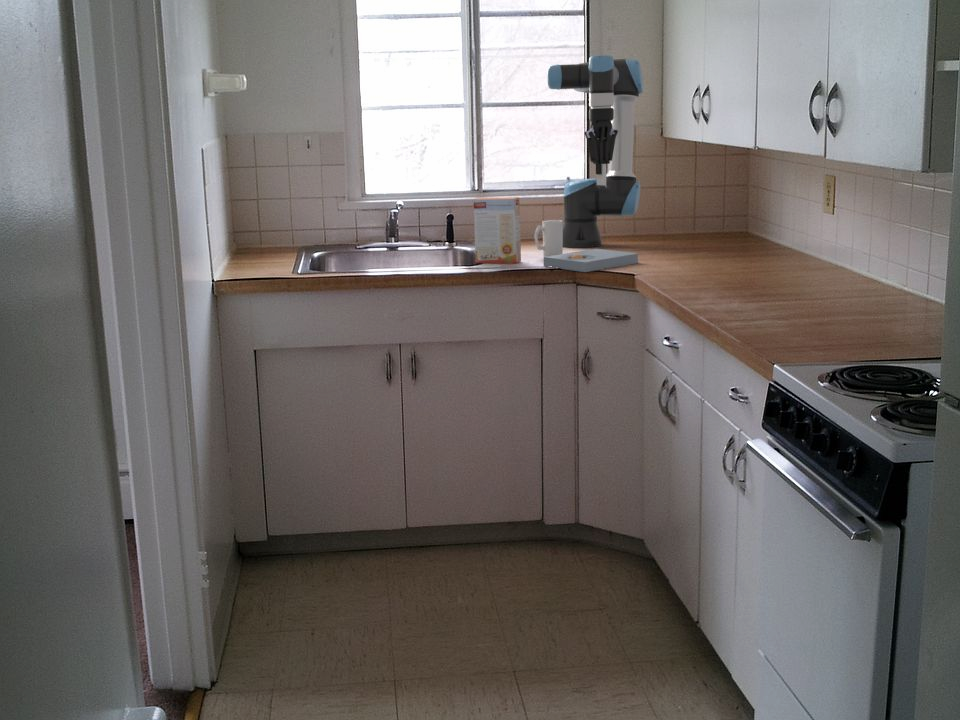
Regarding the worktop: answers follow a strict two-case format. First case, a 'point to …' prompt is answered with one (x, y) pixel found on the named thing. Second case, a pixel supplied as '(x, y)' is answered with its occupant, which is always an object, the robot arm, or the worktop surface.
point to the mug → (550, 237)
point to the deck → (591, 260)
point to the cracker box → (497, 230)
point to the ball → (577, 256)
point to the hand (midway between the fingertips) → (601, 184)
